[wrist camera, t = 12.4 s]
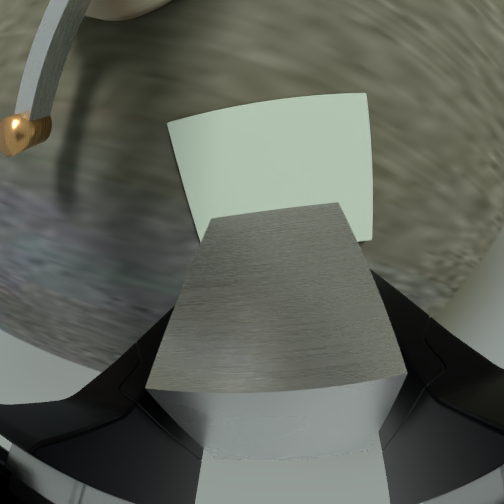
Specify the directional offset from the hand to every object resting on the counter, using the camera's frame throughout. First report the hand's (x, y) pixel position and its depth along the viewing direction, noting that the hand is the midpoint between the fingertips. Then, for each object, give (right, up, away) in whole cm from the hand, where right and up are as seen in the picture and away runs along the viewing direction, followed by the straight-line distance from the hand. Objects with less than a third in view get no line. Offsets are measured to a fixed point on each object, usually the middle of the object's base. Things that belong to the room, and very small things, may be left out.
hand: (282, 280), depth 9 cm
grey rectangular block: (0, +1, +1) cm, 1 cm away
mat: (+1, +6, +9) cm, 10 cm away
